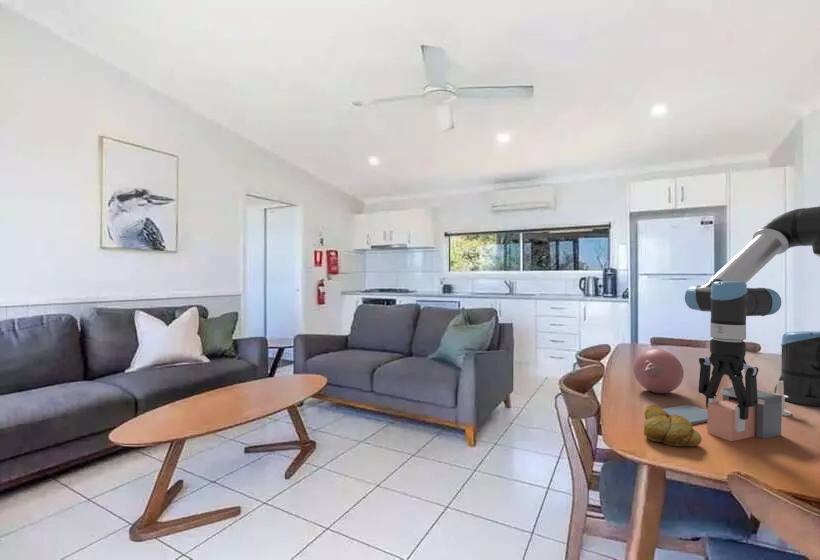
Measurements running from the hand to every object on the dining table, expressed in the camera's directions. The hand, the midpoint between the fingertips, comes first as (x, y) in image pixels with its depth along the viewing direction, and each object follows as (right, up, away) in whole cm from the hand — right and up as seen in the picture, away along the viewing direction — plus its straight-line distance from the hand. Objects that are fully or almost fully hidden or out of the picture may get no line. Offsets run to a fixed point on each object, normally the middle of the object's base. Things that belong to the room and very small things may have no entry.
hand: (726, 426), depth 111 cm
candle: (+29, -2, +17) cm, 34 cm away
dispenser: (+9, -2, +3) cm, 10 cm away
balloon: (+3, -2, +37) cm, 38 cm away
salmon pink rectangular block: (+3, -2, +1) cm, 4 cm away
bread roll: (-17, -3, -4) cm, 18 cm away
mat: (-1, -2, +14) cm, 15 cm away
